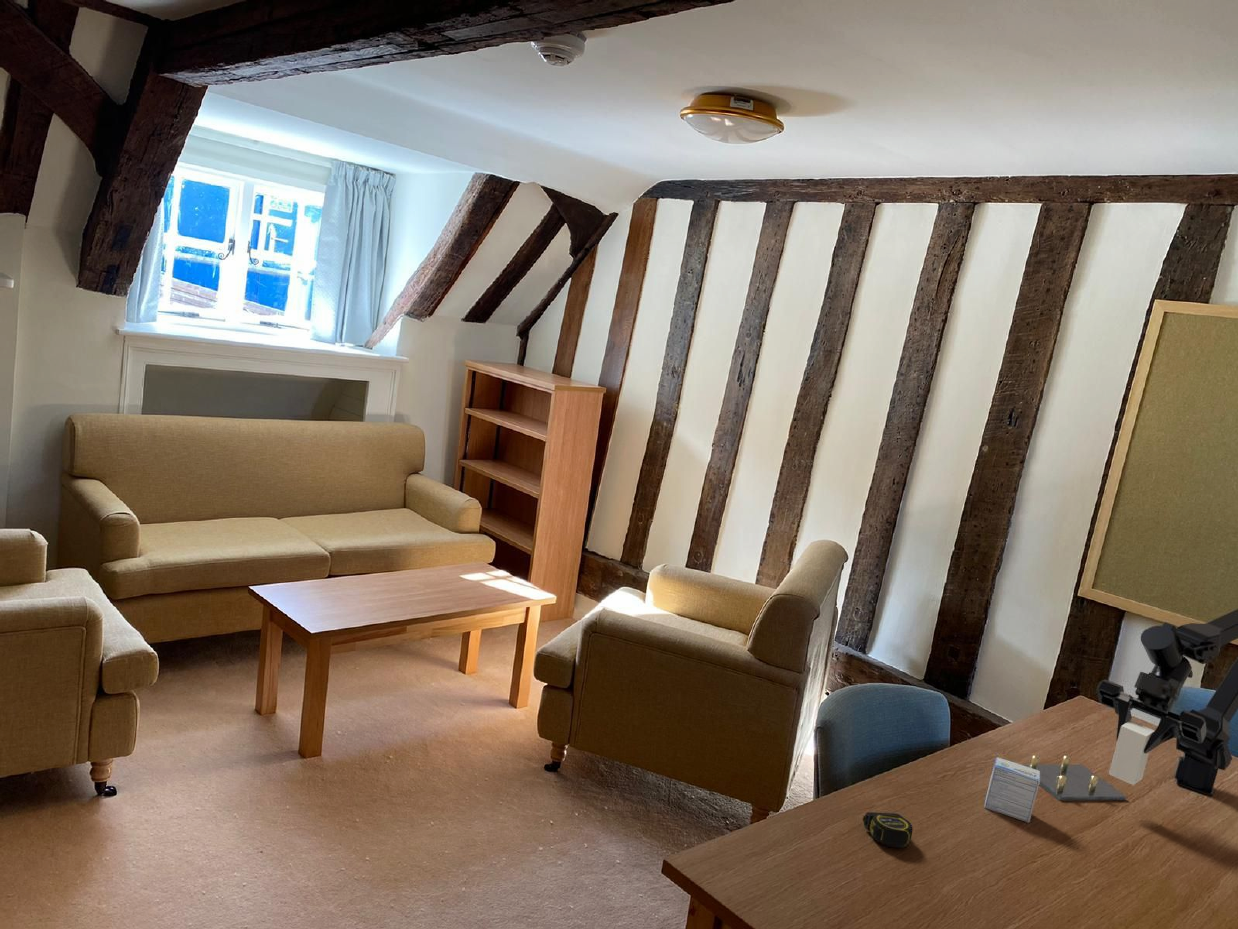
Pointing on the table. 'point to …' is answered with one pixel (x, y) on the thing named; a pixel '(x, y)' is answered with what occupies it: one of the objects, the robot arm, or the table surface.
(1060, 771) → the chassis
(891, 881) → the table surface
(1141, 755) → the block
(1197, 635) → the robot arm
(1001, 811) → the medicine box
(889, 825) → the tape measure
